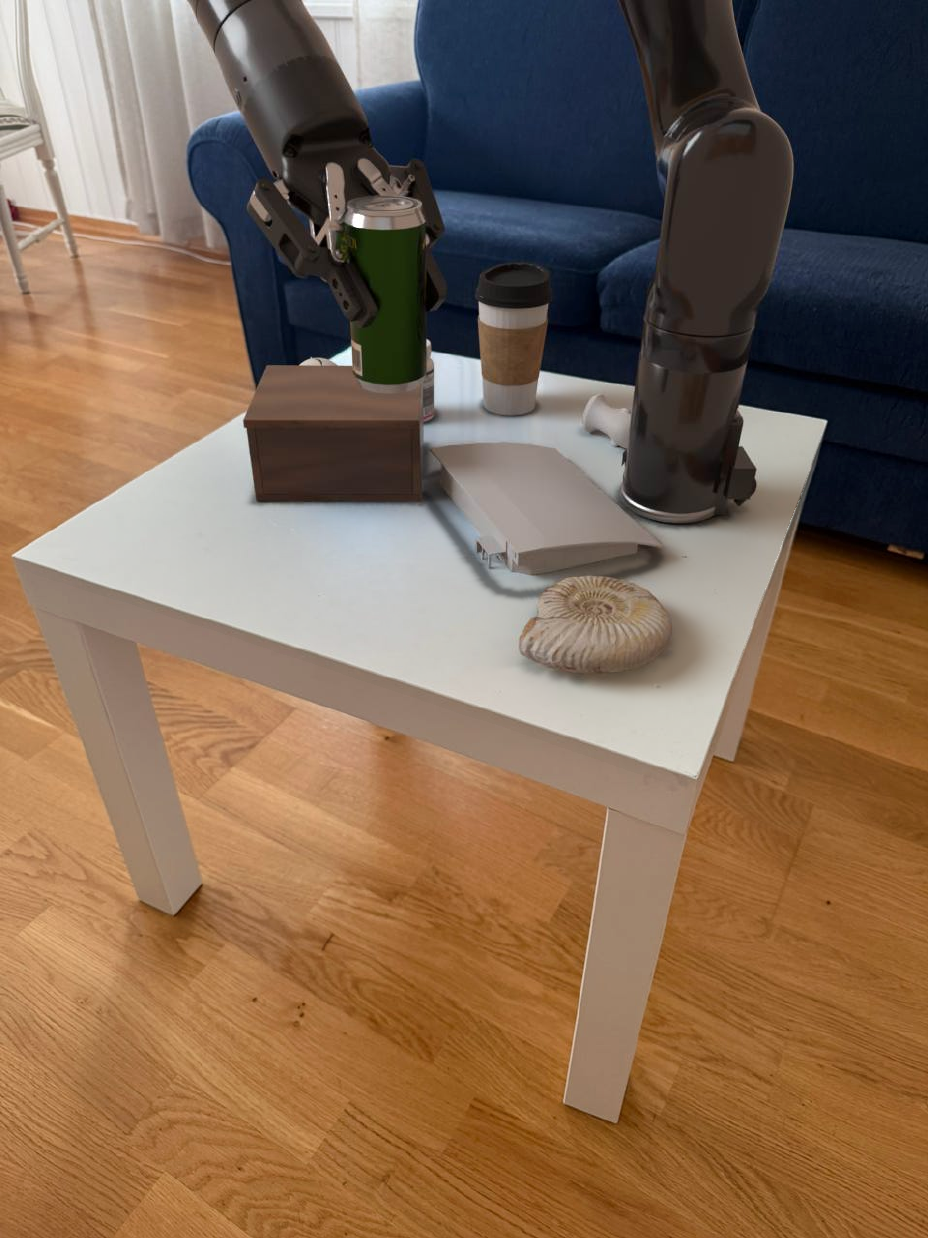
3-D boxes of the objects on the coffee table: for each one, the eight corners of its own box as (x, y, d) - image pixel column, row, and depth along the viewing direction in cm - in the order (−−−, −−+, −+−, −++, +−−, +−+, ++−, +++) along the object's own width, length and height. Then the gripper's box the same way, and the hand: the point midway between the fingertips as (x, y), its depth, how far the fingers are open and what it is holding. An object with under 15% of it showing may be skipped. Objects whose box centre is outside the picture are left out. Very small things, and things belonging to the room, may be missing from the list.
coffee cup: (558, 401, 106) (568, 268, 97) (523, 426, 100) (530, 287, 92) (496, 386, 110) (500, 257, 101) (459, 409, 104) (460, 274, 95)
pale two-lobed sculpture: (650, 458, 97) (616, 455, 94) (604, 430, 102) (570, 426, 99) (666, 420, 95) (632, 415, 92) (617, 393, 100) (584, 388, 97)
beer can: (375, 400, 63) (368, 216, 56) (339, 375, 67) (328, 199, 60) (440, 385, 66) (441, 206, 58) (402, 362, 69) (399, 191, 62)
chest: (421, 502, 86) (420, 425, 81) (256, 501, 86) (245, 424, 81) (423, 445, 96) (422, 373, 92) (276, 444, 96) (267, 373, 91)
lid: (419, 428, 81) (419, 420, 80) (243, 428, 80) (242, 419, 80) (422, 373, 92) (422, 365, 91) (267, 372, 91) (266, 364, 91)
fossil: (657, 680, 61) (525, 611, 62) (627, 727, 64) (502, 661, 65) (692, 586, 70) (576, 528, 71) (664, 631, 73) (553, 575, 74)
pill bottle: (388, 409, 104) (385, 337, 99) (428, 405, 105) (427, 333, 100) (398, 426, 100) (395, 351, 95) (439, 421, 101) (439, 347, 96)
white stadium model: (503, 605, 73) (505, 564, 71) (410, 482, 90) (409, 446, 88) (666, 569, 78) (673, 529, 75) (548, 458, 95) (551, 423, 93)
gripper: (210, 55, 55) (337, 303, 55) (397, 46, 63) (509, 263, 63) (183, 141, 61) (297, 363, 61) (356, 123, 69) (457, 321, 69)
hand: (403, 312), depth 62 cm, fingers closed on beer can, 5 cm apart
